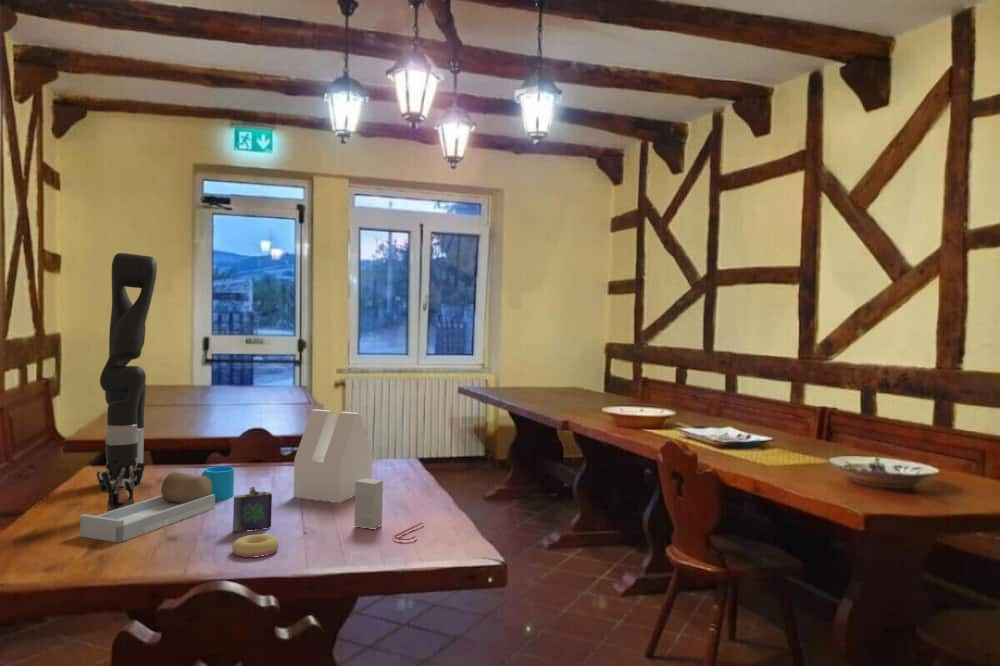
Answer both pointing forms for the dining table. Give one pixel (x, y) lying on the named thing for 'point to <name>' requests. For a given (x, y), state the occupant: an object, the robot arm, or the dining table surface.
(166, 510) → the lane
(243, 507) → the flask
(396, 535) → the candy cane
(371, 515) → the skincare box
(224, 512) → the dining table surface
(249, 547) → the donut
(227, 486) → the mug
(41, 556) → the dining table surface
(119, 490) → the ball
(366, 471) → the white slotted block
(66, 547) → the dining table surface
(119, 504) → the brown wooden bracket block
